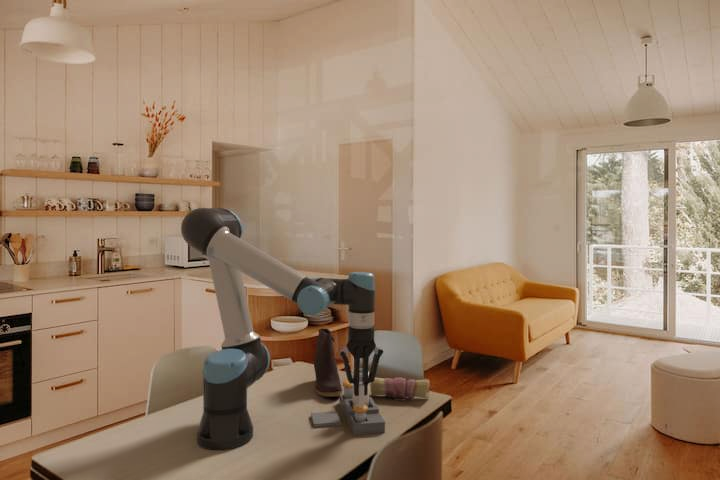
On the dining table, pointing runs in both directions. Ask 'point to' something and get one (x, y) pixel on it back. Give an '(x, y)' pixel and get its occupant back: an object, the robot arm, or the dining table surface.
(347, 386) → the plunger far
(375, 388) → the green and pink roll
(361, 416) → the plunger near
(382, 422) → the housing
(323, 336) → the boot
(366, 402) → the cylinder
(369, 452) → the dining table surface
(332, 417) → the mat
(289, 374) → the dining table surface
